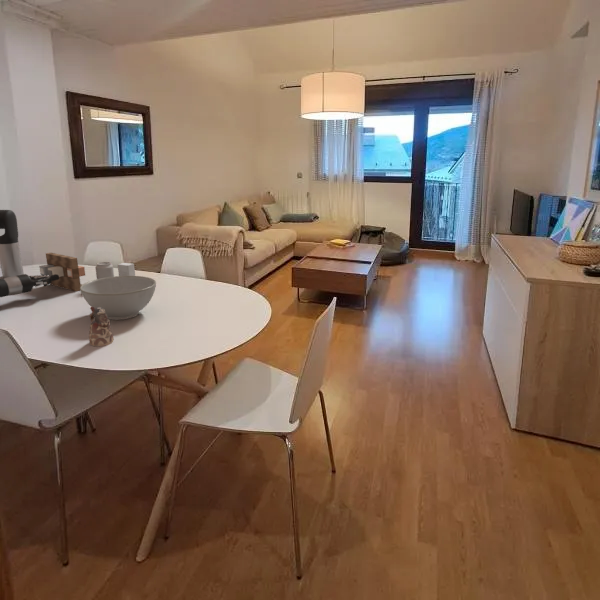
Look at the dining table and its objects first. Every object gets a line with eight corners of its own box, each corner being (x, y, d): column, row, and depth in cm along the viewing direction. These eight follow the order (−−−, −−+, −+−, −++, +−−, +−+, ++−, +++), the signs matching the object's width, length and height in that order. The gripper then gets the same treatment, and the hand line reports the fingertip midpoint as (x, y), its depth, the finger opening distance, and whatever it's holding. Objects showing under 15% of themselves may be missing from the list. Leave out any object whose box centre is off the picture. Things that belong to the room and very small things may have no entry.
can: (118, 286, 213) (115, 261, 210) (110, 290, 206) (107, 264, 203) (103, 285, 214) (100, 260, 211) (94, 290, 207) (91, 264, 204)
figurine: (100, 347, 143) (96, 311, 140) (84, 344, 146) (80, 308, 142) (118, 340, 149) (114, 305, 146) (102, 336, 152) (98, 302, 149)
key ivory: (48, 276, 205) (46, 268, 204) (61, 274, 210) (60, 265, 209) (53, 278, 203) (51, 269, 202) (66, 275, 208) (65, 266, 207)
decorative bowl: (170, 306, 184) (168, 277, 181) (134, 329, 159) (131, 296, 156) (111, 302, 190) (108, 273, 186) (67, 323, 165) (63, 291, 161)
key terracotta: (67, 276, 205) (65, 268, 204) (80, 274, 211) (79, 265, 209) (72, 278, 203) (71, 269, 202) (85, 275, 208) (84, 266, 207)
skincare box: (136, 288, 210) (134, 263, 206) (130, 291, 206) (128, 265, 202) (126, 287, 212) (123, 262, 208) (119, 289, 208) (117, 264, 204)
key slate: (39, 274, 209) (38, 266, 208) (53, 272, 214) (52, 263, 213) (44, 275, 207) (43, 267, 206) (58, 273, 212) (56, 264, 211)
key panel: (50, 284, 215) (45, 253, 211) (63, 281, 220) (59, 251, 216) (76, 291, 204) (71, 258, 200) (89, 288, 210) (85, 256, 205)
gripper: (9, 291, 190) (51, 282, 203) (26, 296, 183) (67, 287, 197) (6, 273, 187) (48, 266, 201) (23, 278, 180) (65, 270, 194)
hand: (57, 276), depth 199 cm, fingers closed
